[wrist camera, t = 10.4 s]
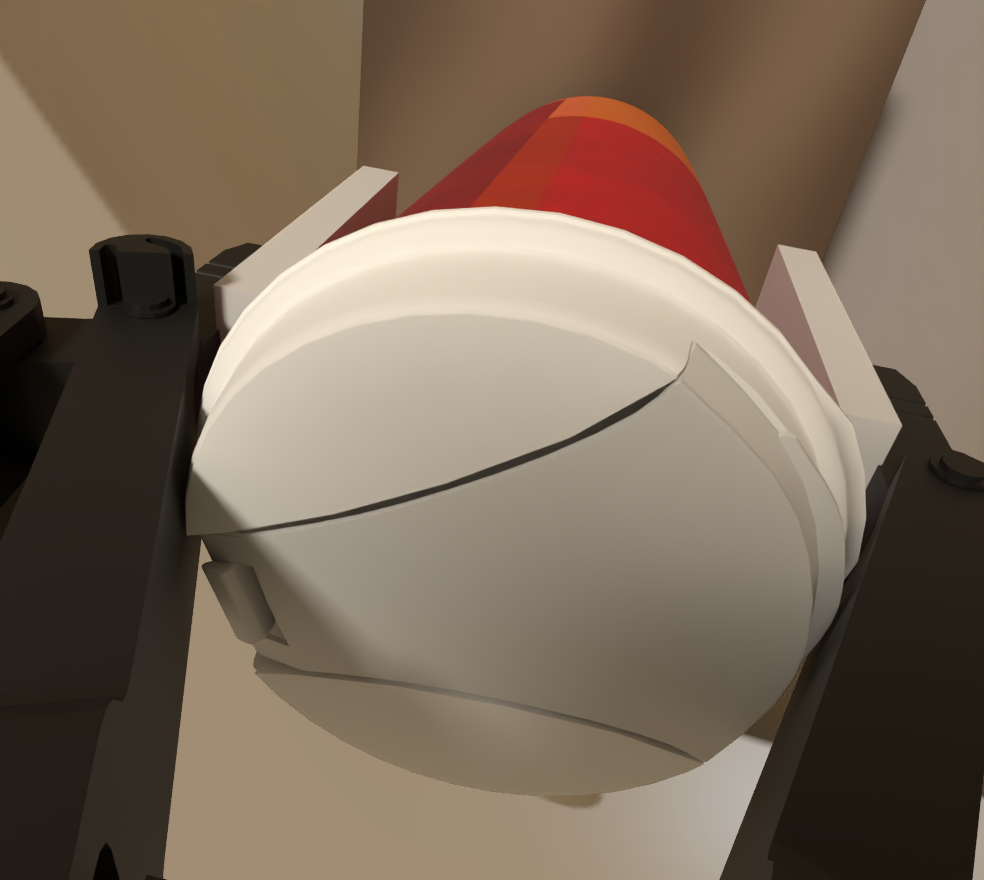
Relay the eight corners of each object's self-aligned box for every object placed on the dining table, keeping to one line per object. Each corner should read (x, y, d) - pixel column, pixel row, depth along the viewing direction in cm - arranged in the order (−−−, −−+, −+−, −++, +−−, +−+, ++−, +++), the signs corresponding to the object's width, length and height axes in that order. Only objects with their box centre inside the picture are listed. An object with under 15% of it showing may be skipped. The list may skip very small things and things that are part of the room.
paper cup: (469, 360, 23) (275, 806, 11) (405, 76, 19) (3, 308, 7) (750, 334, 21) (869, 842, 9) (745, 12, 17) (943, 190, 5)
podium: (891, -38, 20) (938, -32, 17) (736, 384, 27) (747, 447, 24) (414, -118, 21) (368, -128, 17) (385, 311, 28) (349, 362, 24)
